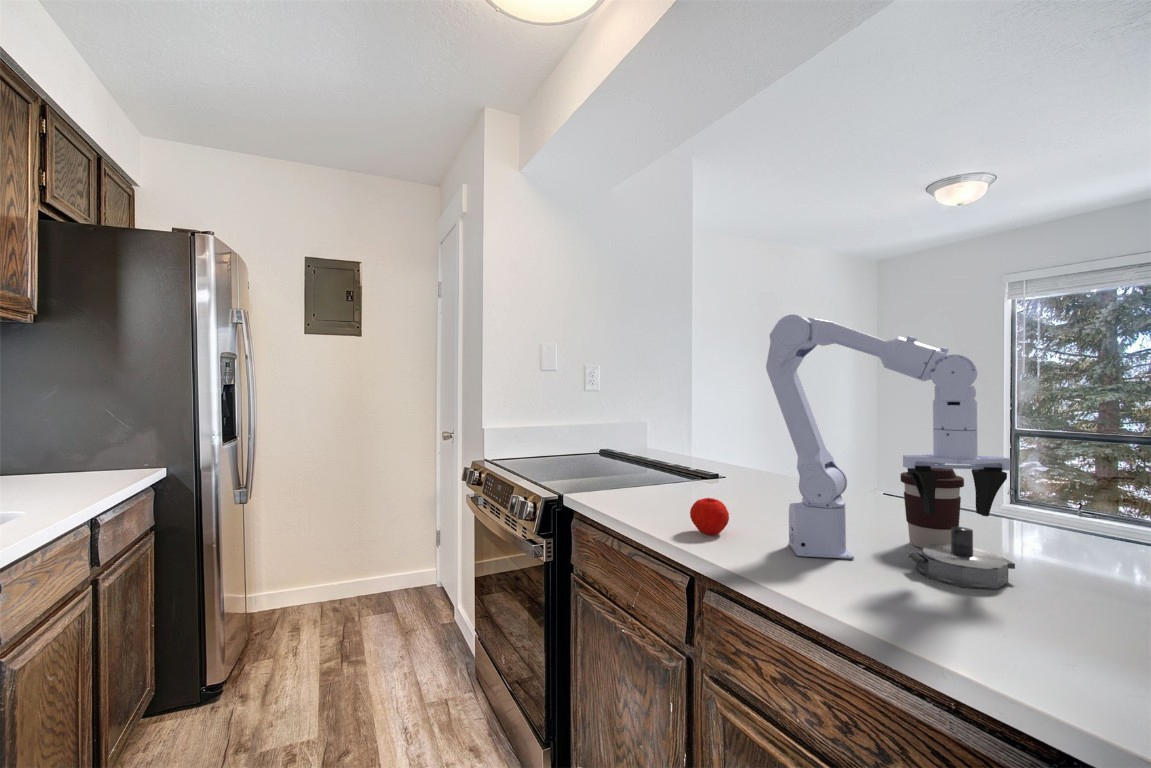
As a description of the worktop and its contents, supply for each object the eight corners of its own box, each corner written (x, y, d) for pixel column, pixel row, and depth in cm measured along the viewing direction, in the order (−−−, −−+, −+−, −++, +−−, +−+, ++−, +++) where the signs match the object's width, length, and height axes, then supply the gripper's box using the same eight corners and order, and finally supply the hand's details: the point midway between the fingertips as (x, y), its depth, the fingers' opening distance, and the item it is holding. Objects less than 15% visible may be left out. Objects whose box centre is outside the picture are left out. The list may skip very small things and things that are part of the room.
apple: (691, 527, 112) (690, 493, 112) (728, 529, 110) (728, 495, 110) (689, 537, 105) (688, 501, 105) (729, 540, 102) (729, 503, 102)
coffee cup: (976, 556, 92) (975, 472, 92) (915, 553, 94) (913, 470, 94) (948, 539, 101) (947, 463, 101) (893, 537, 103) (891, 463, 103)
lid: (939, 571, 78) (938, 536, 78) (912, 550, 88) (912, 519, 88) (1020, 577, 75) (1019, 540, 75) (983, 554, 85) (982, 522, 85)
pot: (929, 585, 78) (929, 566, 78) (898, 561, 89) (898, 544, 89) (1032, 591, 75) (1032, 571, 75) (987, 565, 86) (987, 548, 86)
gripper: (916, 431, 80) (917, 518, 80) (1023, 431, 77) (1024, 522, 77) (897, 427, 87) (897, 507, 87) (994, 428, 84) (995, 511, 84)
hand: (955, 513), depth 82 cm, fingers open, 7 cm apart
